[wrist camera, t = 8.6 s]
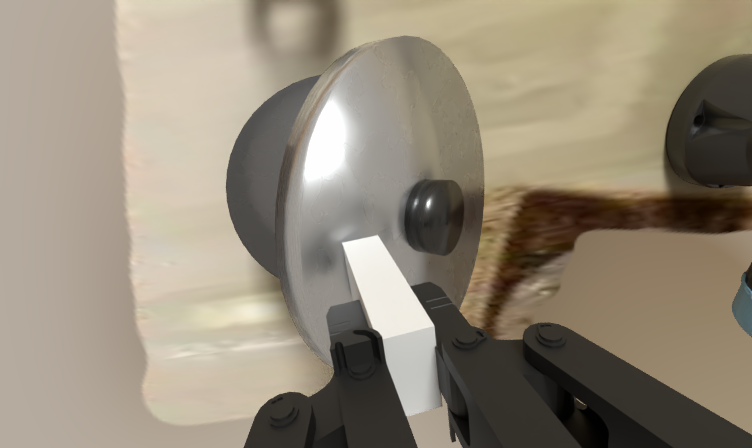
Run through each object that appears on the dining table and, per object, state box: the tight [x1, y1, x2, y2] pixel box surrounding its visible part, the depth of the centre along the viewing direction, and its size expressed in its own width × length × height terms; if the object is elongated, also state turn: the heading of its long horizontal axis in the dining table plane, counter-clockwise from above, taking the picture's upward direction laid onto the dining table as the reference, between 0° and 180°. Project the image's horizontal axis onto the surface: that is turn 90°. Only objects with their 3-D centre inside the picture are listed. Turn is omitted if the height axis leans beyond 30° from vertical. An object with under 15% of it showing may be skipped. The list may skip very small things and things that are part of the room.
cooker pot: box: [226, 75, 321, 279], centre depth 34 cm, size 17×22×12 cm
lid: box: [275, 36, 484, 368], centre depth 21 cm, size 18×18×3 cm
